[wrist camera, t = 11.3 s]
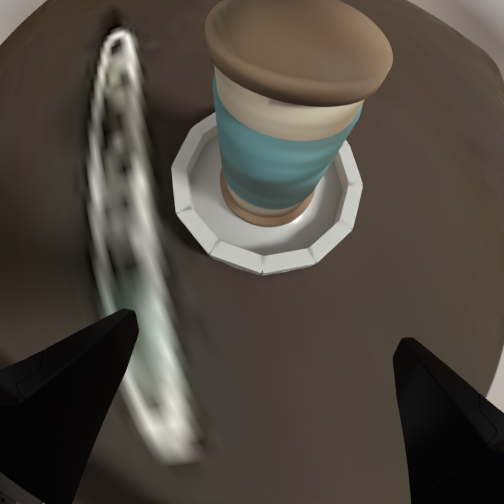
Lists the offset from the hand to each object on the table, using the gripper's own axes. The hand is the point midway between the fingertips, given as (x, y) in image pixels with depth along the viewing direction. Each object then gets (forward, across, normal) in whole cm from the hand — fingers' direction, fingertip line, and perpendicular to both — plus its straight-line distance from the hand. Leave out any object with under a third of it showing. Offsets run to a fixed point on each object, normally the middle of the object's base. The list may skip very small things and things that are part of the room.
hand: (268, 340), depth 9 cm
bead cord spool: (+13, +1, -2) cm, 13 cm away
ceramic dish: (+14, +1, -2) cm, 14 cm away
